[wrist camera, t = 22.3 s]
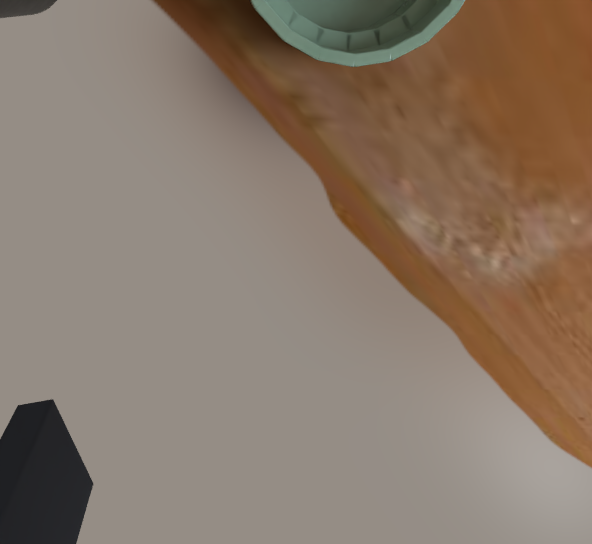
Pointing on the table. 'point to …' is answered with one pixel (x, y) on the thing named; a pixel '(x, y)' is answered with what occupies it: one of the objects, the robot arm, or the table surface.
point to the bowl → (356, 26)
